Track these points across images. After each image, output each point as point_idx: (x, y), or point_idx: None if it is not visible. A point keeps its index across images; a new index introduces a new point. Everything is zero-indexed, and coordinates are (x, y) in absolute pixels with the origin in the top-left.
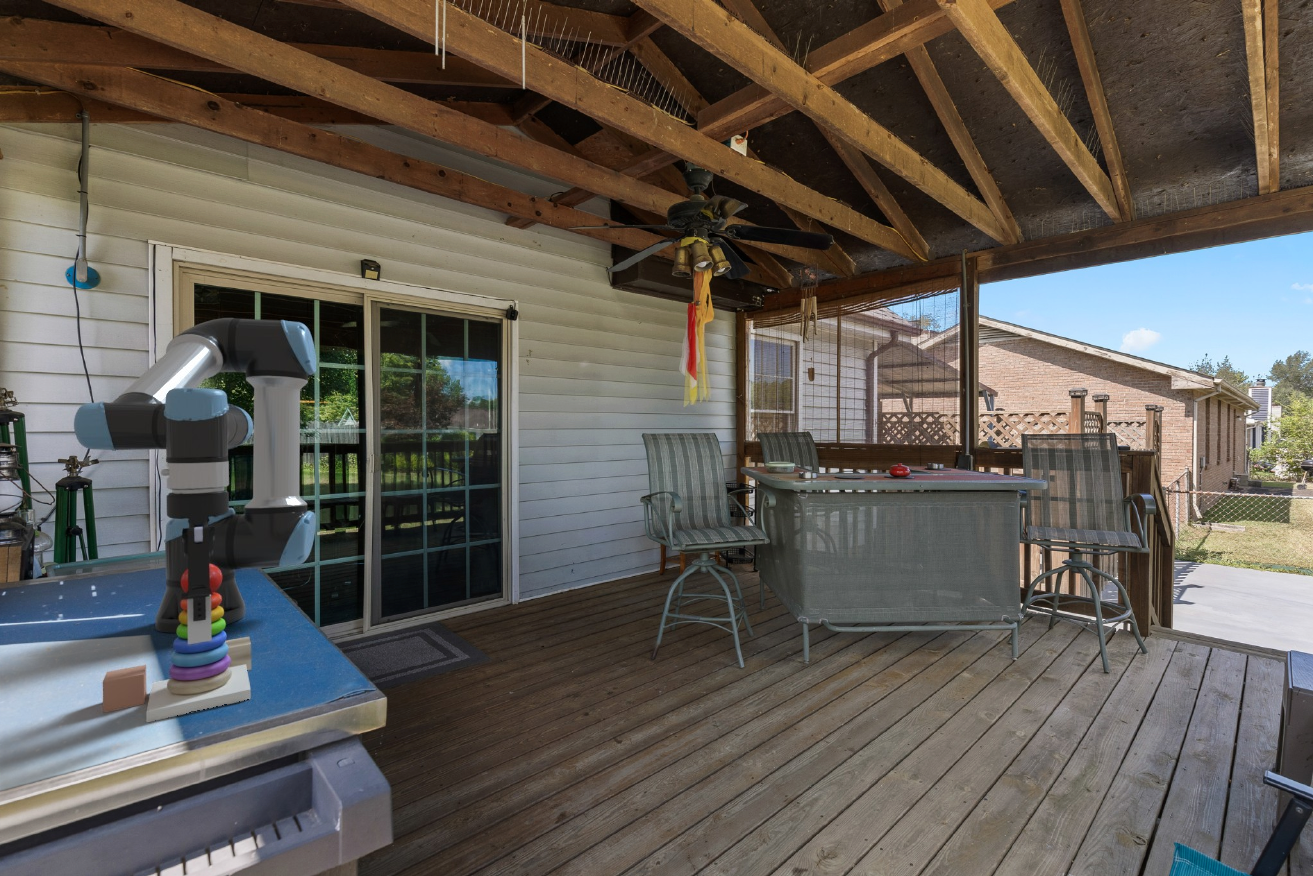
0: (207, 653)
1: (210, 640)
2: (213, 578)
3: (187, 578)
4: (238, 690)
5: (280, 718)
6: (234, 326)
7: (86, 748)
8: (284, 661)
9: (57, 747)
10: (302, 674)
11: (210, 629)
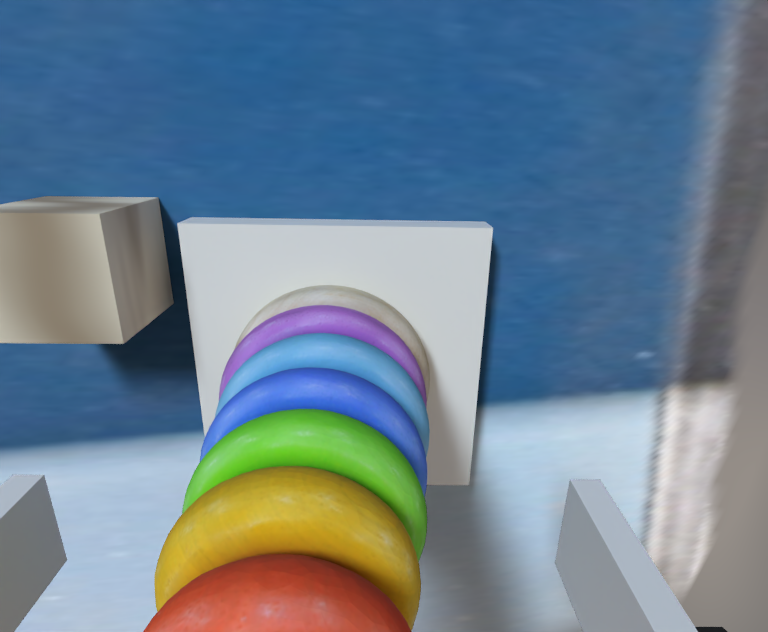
0: (418, 425)
1: (598, 483)
2: None
3: None
4: (475, 265)
5: (735, 148)
6: None
7: (531, 552)
8: (114, 61)
9: (479, 594)
10: (338, 9)
11: (628, 532)
